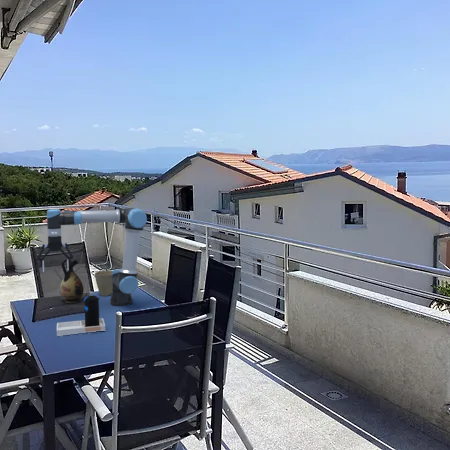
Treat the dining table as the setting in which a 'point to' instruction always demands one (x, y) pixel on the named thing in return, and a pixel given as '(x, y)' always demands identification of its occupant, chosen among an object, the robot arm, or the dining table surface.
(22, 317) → the dining table surface
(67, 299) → the ceramic jug
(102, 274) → the plant pot
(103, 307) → the dining table surface
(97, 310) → the aerosol can
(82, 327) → the tray
